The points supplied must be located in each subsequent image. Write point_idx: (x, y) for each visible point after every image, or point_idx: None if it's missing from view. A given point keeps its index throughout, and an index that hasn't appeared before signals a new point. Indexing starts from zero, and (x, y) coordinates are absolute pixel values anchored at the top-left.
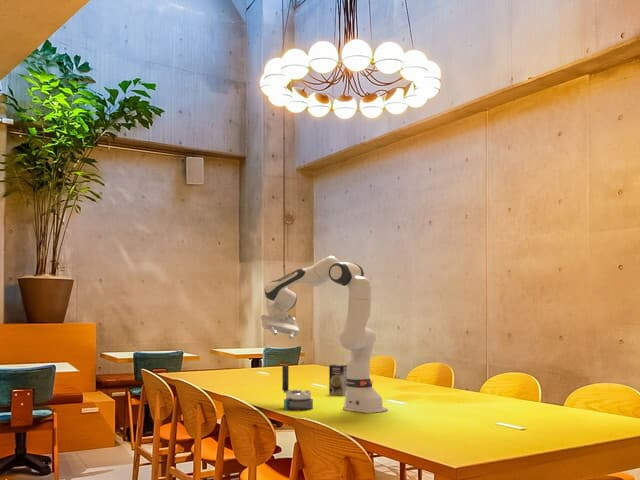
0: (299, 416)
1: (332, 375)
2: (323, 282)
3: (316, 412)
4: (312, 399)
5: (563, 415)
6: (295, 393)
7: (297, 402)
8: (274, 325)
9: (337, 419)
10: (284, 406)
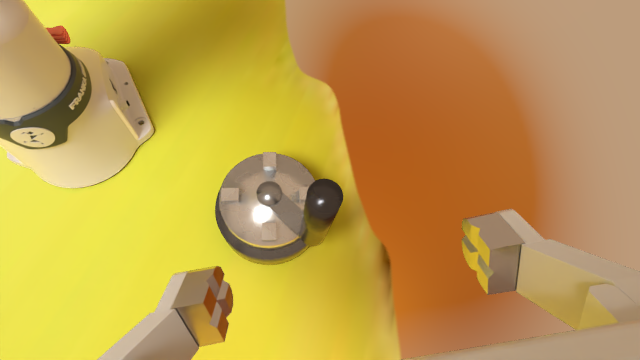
0: (317, 93)
1: None
2: None
3: (250, 126)
4: (219, 192)
5: None
6: (284, 190)
7: None
8: (635, 321)
9: (244, 31)
10: None
